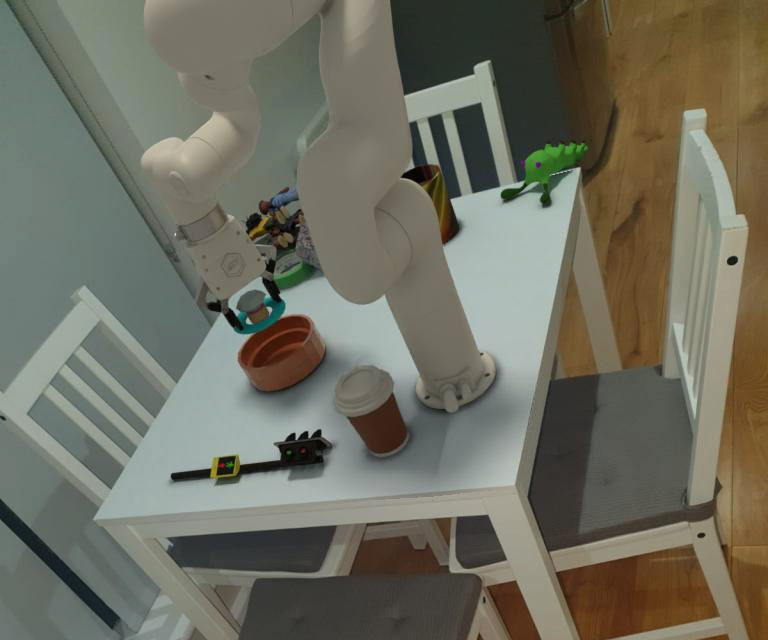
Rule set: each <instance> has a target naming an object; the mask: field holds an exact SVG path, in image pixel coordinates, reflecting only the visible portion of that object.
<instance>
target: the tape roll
mask: <svg viewBox="0 0 768 640" xmlns="http://www.w3.org/2000/svg"><path fill="white" fill-rule="evenodd" d="M295 249H296V247H295V248H291V249H289V250H287V251H284V252H283V253H281V254H280V255H278V256H276V259H275V262H276V266H275V270H274V279H273V280H274V281H275V283H276V285H277V287H278V289H279V290H283V289H287V288H291V287H293V286H295V285H297V284H299V283H302V282H303V281H304V280H305V279H306V278H308V277H309V276H310V275H311V274H312V273H313V272H314V270H315V269H316V267H315V266H312V265H310V264H308V263H306V262H304V261H303V260H302V259H301V258H299V257H298V256H297V255H296V250H295ZM297 263H298V265H297V266H295V267H293V268H292V269H290V270H288V271H285V270H286V269H287V268H289V267H291V266H293V265H295V264H297ZM283 271H285V272H283Z"/></svg>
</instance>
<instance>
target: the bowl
mask: <svg viewBox="0 0 768 640" xmlns="http://www.w3.org/2000/svg"><path fill="white" fill-rule="evenodd" d="M325 352H326V342H325V340H324V339H323V337H322V335H321V334H320V331H319V330H318V328H317V326H316V324H315V323H314V321H313V320H312V318H311V317H310V316H308V315H305V314H303V313H291V314H287V315H282V316H281V317H280V318H279V319H278V320H277V321H276V322H275V323H273V324H272V325H271V326H269V327H267V328H266V329H264V330H262V331H259V332H256V333H253V334H249V336H248V337H247V338H246V340H245V341H244V342H243V343H242V344H241V347H240V348H239V350H238V353H237V362H238V364H239V367H240V368H241V369H242V371H243V372H244V374H245V376H246V377H247V378H248V381H250V383H251V384H252V386H253V388H256V389H257V390H260V391H263V392H274V391H279V390H283V389H286V388H289V387H290V386H293V385H295V384H297V383H299V382H300V381H302V380H303V379H305V378H307V376H308V375H310V374H311V373H312V372H313V371H314V370H316V369H317V367H318V366H319V364H320V363H321V362H322V361H323V357H324V356H325Z"/></svg>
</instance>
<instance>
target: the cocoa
mask: <svg viewBox="0 0 768 640" xmlns="http://www.w3.org/2000/svg"><path fill="white" fill-rule="evenodd" d="M394 386H395V382H394V380H393V378H392V375H391V374H390V372H388V371H386V370H384V369H382V368H379V367H378V366H375V365H373V364H363V365H360V366H356V367H353V368H352V369H350V370H348V371H347V372H345V373H344V374H343V375H342V376H341V377H340V378H339V380H338V381H337V382H336V384H335V388H334V395H333V399H332V404H333V406H334V408H335V411H336V413H338V414H340V415H341V416H343V417H345V418H346V419H347V420H348V422H349V423H350V424H351V426H352V427H353V429H354V431H356V433H357V435H358V436H359V438H360V439H361V440H362V441H363V443H364V444H365V446H366V447H367V449H368V450H369V451H370V454H372V455H374V456H375V457H380V458H385V457H390V456H393V455H395V454H396V453H398V452H400V451H401V450H403V448H404V447H405V446H406V445H407V443H408V441H409V439H410V433H409V430H408V429H407V428H408V427H407V425H406V423H405V420H404V417H403V415H402V413H401V410H400V407H399V405H398V402H397V400H396V396H395V394H394Z"/></svg>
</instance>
